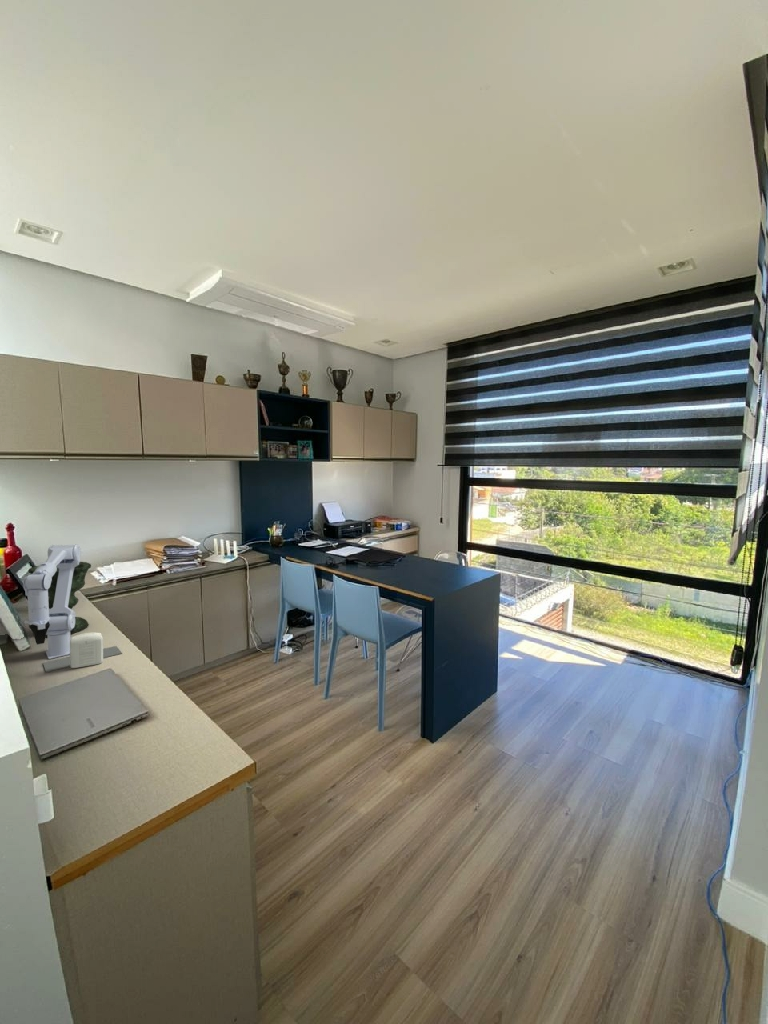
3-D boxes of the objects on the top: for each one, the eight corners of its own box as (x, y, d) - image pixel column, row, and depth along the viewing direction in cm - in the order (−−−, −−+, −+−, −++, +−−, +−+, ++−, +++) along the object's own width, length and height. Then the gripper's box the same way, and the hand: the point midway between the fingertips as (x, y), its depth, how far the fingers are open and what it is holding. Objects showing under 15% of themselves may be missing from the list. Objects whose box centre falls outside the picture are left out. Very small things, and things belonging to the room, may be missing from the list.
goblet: (30, 629, 193) (27, 565, 191) (89, 618, 208) (87, 559, 206) (32, 643, 177) (29, 574, 174) (96, 631, 192) (94, 567, 190)
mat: (42, 663, 159) (42, 662, 159) (116, 646, 175) (116, 645, 175) (46, 672, 152) (46, 671, 152) (122, 653, 169) (122, 652, 169)
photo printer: (103, 658, 163) (102, 628, 161) (103, 663, 160) (102, 633, 158) (70, 664, 157) (69, 633, 155) (69, 670, 154) (68, 638, 152)
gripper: (22, 604, 153) (24, 640, 154) (25, 614, 143) (27, 652, 144) (46, 600, 158) (48, 635, 159) (52, 610, 148) (53, 647, 149)
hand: (40, 643), depth 152 cm, fingers closed
